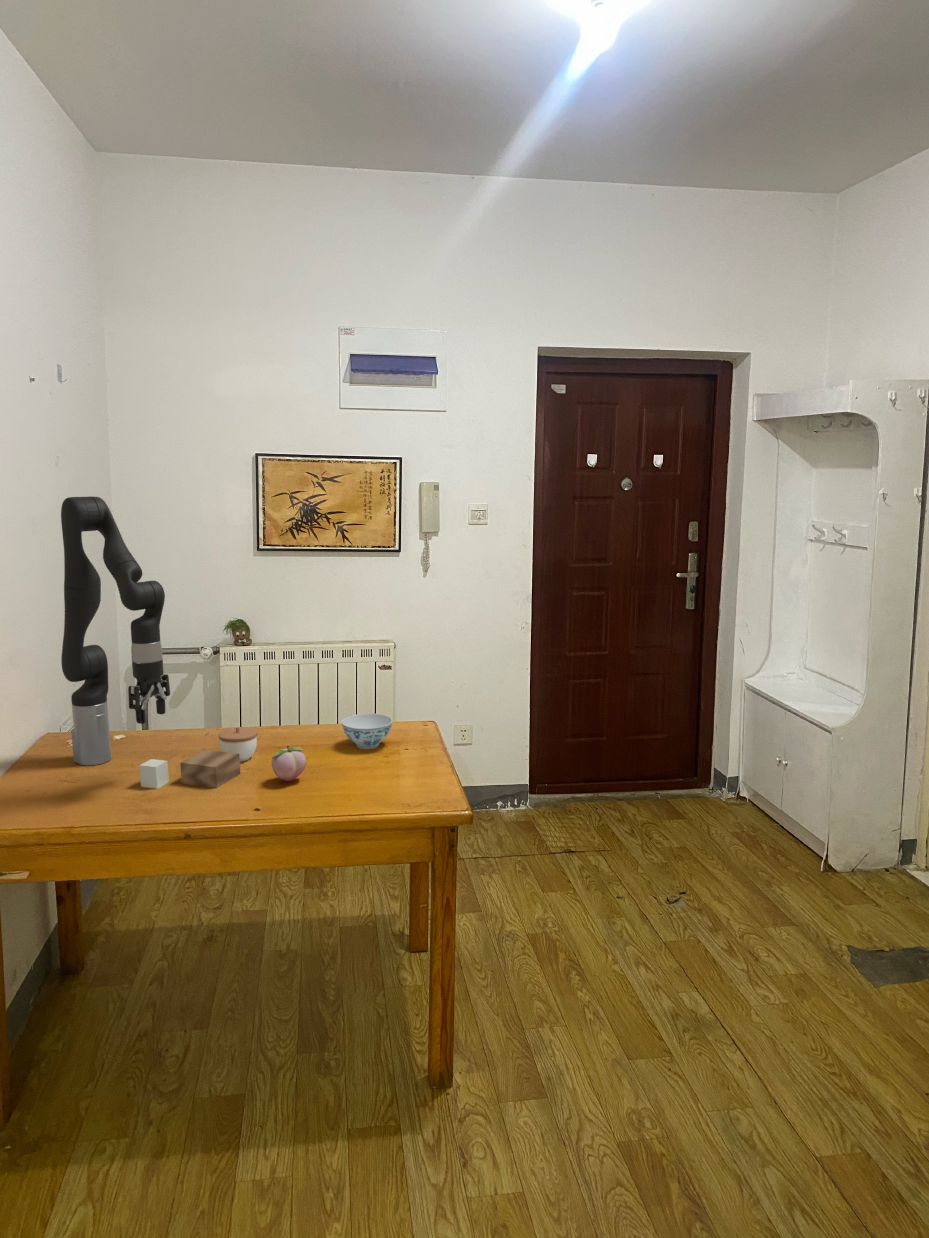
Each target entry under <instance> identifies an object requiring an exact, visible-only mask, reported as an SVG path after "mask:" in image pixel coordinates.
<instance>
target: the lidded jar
mask: <svg viewBox="0 0 929 1238" xmlns="http://www.w3.org/2000/svg"><path fill="white" fill-rule="evenodd" d="M218 741H219V742H218V743H219V748H220V752H229V753H237V754H239V755H240V763H242V762H246V761H249V760H250V759H251V757H252V756H253V755H254V753H255V751H256V750H257V744H258V731H257V730H256V729H255V728H253V727H252V728H251V727H247V726H245V727H244V726H243V727H242V726H236V727H230V728H227V729H224V730H221V731H220V732H219V733H218Z"/></svg>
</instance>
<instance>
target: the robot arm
mask: <svg viewBox="0 0 929 1238" xmlns="http://www.w3.org/2000/svg"><path fill="white" fill-rule="evenodd" d="M60 520H61V521H60V523H61V531H62V532H61V533H62V534H61V535H62V542H63V554H64V555H63V556H64V557H63V559H64V560H63V562H64V563H63V564H64V565H63V566H64V575H63V576H64V578H63V579H64V581H63V582H64V583H63V599H64V600H63V602H64V622H63V623H64V626H63V627H64V628H63V639H62V650H61V662H60V663H61V670H62V673H63V676H64V678H65V679H66V680H67V681H68V682H71V683H78V682H83V681H84V682H83V683H82V685H81V686H80V687H79V688H78V689H76V690H75V691H74V692H72V694H71V709H72V720H73V728H72V729H71V730H70V734H71V743H72V755H73V756H72V757H73V762H74V763H77V764H78V765H81V766H96V765H102V764H105V763H107V762H109V761H111V760H112V758H113V757H112V744H111V732H110V721H109V720H110V719H109V709H108V707H109V706H108V697H107V696H108V693H109V662H108V656H107V654H106V651H105V650H104V649H103V648H102V647H101V646H100V645H98V644H89V645H86V646H85V637H86V634H87V630H88V628H89V626H90V624H91V622H92V621H93V619H94V618H95V616H96V613H97V612H98V610H99V608H100V604H101V596H102V592H101V591H102V590H101V589H102V588H101V587H102V585H101V584H102V583H101V578H100V575H99V573H98V570H97V569H96V567H95V566H94V564H93V563H92V561H91V560H90V559H89V557H88V555H87V553H86V552H85V550H84V549H85V548H84V545H83V537H82V535H83V532H96V531H97V532H99V533H100V534H101V535H102V537H103V538H104V542H103V545H104V546H103V551H102V559H103V560H102V561H103V562H104V565H105V567H106V568H107V570H108V572H109V573H110V574H111V576H112V578H113V579H114V580H115V584H116V587H117V590H118V593H119V598H120V602H121V604H122V605H123V607H124V608H125V609H128V610H129V611H133V612H135V611H142V610H144V612H143V614H142V615H141V616H139V617H137V618H135V619H133V620H132V621H131V622H130V639H131V640H130V641H131V648H130V650H131V651H130V652H131V666H132V676H133V678H134V679H136V685H129V686H128V687H127V688H128V691H127V693H128V708H129V710H134V711H135V719H136V720H135V721H136V723H137V724H141V725H144V724H146V720H147V719H146V709H145V708H146V704H147V703H148V702H149V701H150V698H152V697H154V698H155V705H156V706H155V707H156V714H158V715H165V714H166V700H167V698H168V697H169V696H170V695H171V688H170V681H169V680H170V678H169V674H166V673H165V672H164V657H163V647H162V643H161V642H162V641H161V629H160V625H161V624H160V623H161V619H162V614H163V610H164V605H165V599H166V594H165V590H164V587H163V585H162V584H161V583H160V582H159V581H157V580H146V581H141V579H142V577H143V569H142V567H141V566H140V564H139V563H138V561H137V560H136V558H135V557H134V556H133V554H132V553H131V552H130V550H129V548H128V546H127V545H126V543H125V541H124V538H123V537H122V534H121V531H120V530H119V529H120V528H119V527H118V525H117V522H116V520H115V518H114V516H113V514H112V512H111V510H110V508H109V506H108V504H107V503H106V501H105V500H104V499H103V498H102V497H99V496H70V497H66V498H65V499H64V500H63V501H62V504H61V509H60ZM164 673H165V674H164ZM164 688H165V690H164Z"/></svg>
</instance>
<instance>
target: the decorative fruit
mask: <svg viewBox="0 0 929 1238" xmlns="http://www.w3.org/2000/svg"><path fill="white" fill-rule="evenodd" d="M305 751H306V750H305V749H304V748H302V747H299V746H293V747H289V745H287V747H286V748H284V749H283V748H282V749H280V750H278V751H276V752H275V753H274V754H273V755H272V758H271V769H272V770H273V773H274V775H275V776H276V777H277V778H279V779H281V780H282V781H286V782H292V781H294V780H296V779H297V778H298V777H300V775H301V774H302V773H303V772H304V771H305V769H306V767H307V757H306V755H305V754H304V753H303V752H305Z"/></svg>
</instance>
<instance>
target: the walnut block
mask: <svg viewBox="0 0 929 1238" xmlns="http://www.w3.org/2000/svg"><path fill="white" fill-rule="evenodd" d="M180 775H181V776H180V777H181V780H180V781H181V784H185V785H192V786H199V787H208V788H214V789H218V788H220V787H222V786H223V785H225V784H227V783H228V782H229V781H231V780H233V779H235V778H236V777H238V776H239V775H241V762H240V755H239V754H237V753H229V752H222V751H221V750H212V749H203V750H202V751H200V752H197V753H196V754H194V755H192V756H190V757H188V758H186V759H184V760H183V761H181V762H180Z"/></svg>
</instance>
